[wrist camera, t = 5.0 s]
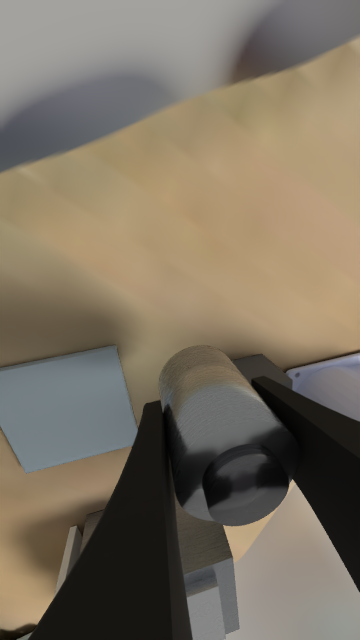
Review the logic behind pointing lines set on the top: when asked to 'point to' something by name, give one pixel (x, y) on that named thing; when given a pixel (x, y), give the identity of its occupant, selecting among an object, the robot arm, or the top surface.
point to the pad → (66, 408)
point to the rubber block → (262, 370)
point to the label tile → (69, 555)
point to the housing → (200, 573)
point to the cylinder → (223, 440)
